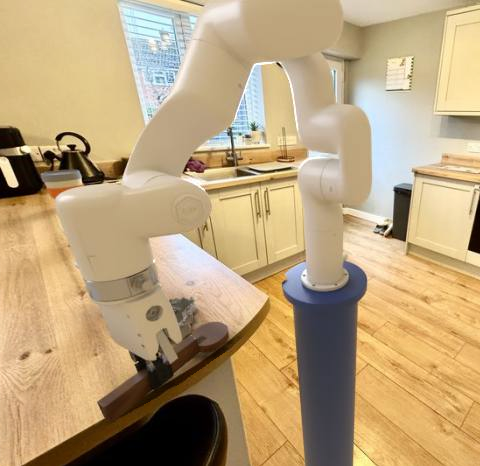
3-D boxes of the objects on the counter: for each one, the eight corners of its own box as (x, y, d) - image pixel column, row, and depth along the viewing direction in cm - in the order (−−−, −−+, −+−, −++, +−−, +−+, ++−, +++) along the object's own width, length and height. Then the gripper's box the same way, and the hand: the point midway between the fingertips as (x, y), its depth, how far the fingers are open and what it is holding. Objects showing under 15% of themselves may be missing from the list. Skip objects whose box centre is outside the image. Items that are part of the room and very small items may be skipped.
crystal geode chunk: (190, 340, 55) (185, 323, 53) (144, 348, 53) (138, 330, 51) (199, 306, 64) (196, 290, 63) (161, 312, 62) (156, 296, 60)
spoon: (121, 431, 38) (114, 414, 37) (94, 410, 41) (87, 394, 39) (236, 334, 55) (234, 320, 54) (212, 324, 57) (210, 311, 56)
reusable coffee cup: (48, 211, 121) (33, 176, 115) (60, 203, 131) (47, 170, 126) (85, 208, 126) (73, 174, 120) (95, 200, 136) (84, 169, 130)
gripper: (190, 279, 38) (213, 380, 45) (120, 255, 44) (150, 346, 51) (130, 312, 32) (168, 422, 39) (58, 278, 38) (102, 379, 45)
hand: (158, 378), depth 45 cm, fingers closed on spoon
